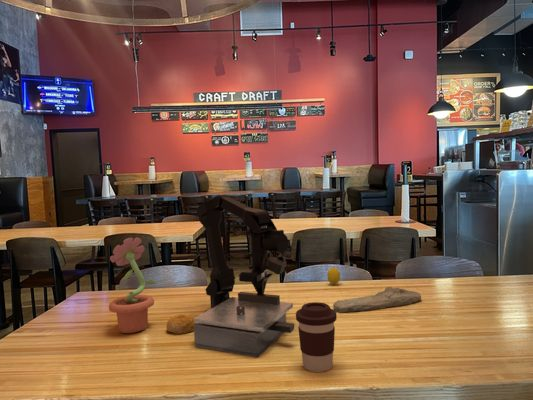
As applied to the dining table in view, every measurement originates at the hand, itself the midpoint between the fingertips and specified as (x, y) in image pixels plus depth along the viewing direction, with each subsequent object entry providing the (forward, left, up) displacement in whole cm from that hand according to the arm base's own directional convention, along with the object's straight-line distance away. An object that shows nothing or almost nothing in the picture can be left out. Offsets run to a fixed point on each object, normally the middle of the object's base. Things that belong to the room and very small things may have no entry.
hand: (261, 296), depth 128 cm
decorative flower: (-37, -19, -9) cm, 42 cm away
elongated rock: (+32, +30, -9) cm, 45 cm away
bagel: (-22, -13, -9) cm, 27 cm away
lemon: (+10, +51, -9) cm, 53 cm away
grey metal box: (+3, -14, -8) cm, 16 cm away
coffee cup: (+26, -23, -9) cm, 36 cm away
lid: (0, -11, -2) cm, 11 cm away
